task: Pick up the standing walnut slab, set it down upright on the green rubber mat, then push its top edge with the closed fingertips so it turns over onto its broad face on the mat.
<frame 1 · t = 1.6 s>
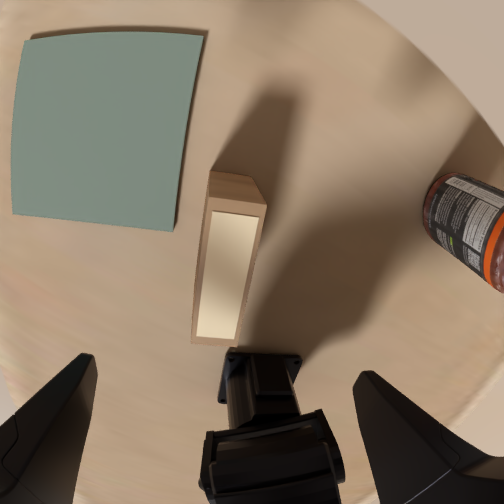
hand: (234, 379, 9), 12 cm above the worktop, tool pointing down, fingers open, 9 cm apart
slab: (220, 234, 20), on the worktop
supplement bottle: (445, 205, 21), on the worktop
mat: (90, 127, 16), on the worktop
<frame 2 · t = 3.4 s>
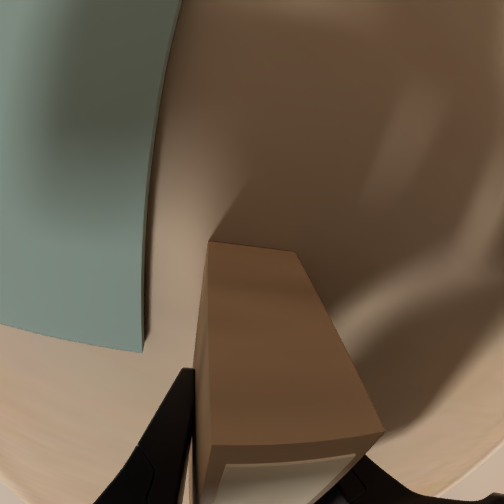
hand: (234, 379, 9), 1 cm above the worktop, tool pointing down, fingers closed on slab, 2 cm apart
slab: (230, 351, 10), on the worktop, touching gripper
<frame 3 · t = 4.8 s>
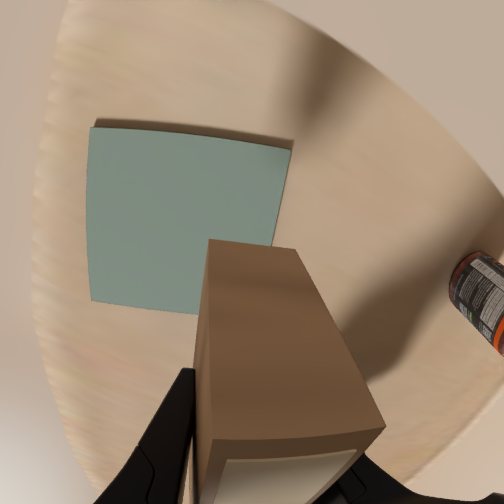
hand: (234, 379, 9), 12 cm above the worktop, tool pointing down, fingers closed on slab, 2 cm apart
slab: (231, 348, 11), point 10 cm above the worktop, touching gripper
supplement bottle: (467, 276, 25), on the worktop
mat: (177, 229, 19), on the worktop
when the fingers open (3 cm above the worktop, at t = 6.6 s): slab stays where it is, resting on mat.
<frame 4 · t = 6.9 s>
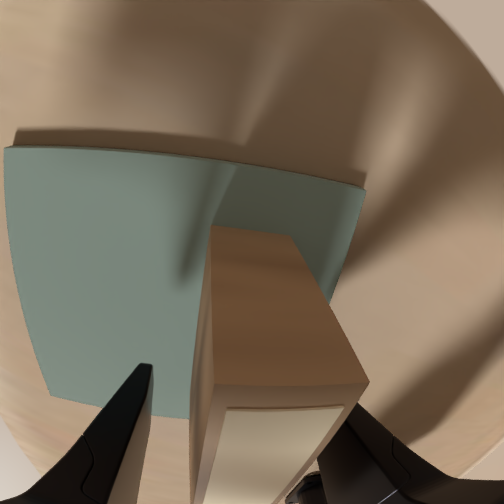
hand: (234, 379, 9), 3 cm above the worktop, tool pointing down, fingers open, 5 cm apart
slab: (230, 331, 11), resting on mat
mat: (162, 317, 11), on the worktop
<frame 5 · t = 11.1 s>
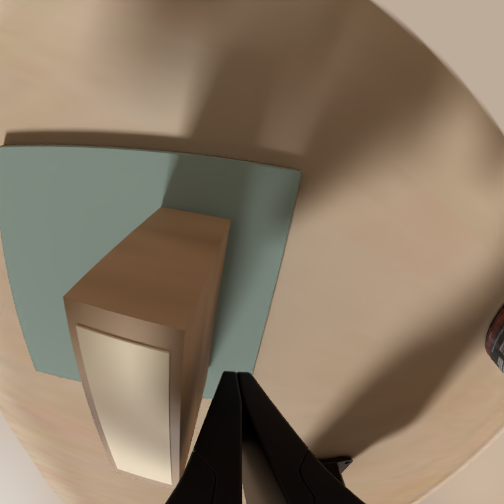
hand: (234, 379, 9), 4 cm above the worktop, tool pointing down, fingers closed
slab: (185, 308, 12), point 1 cm above the worktop, tilted 11°, touching mat
mat: (127, 292, 12), on the worktop
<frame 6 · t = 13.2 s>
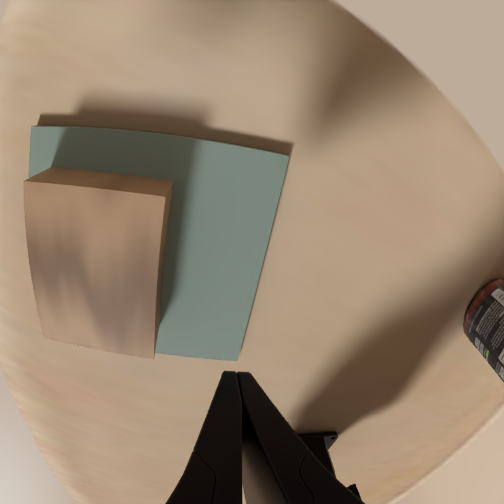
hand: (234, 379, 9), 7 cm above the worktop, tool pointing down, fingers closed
slab: (160, 275, 13), point 2 cm above the worktop, tilted 90°, touching mat
supplement bottle: (483, 304, 21), on the worktop
mat: (139, 255, 15), on the worktop
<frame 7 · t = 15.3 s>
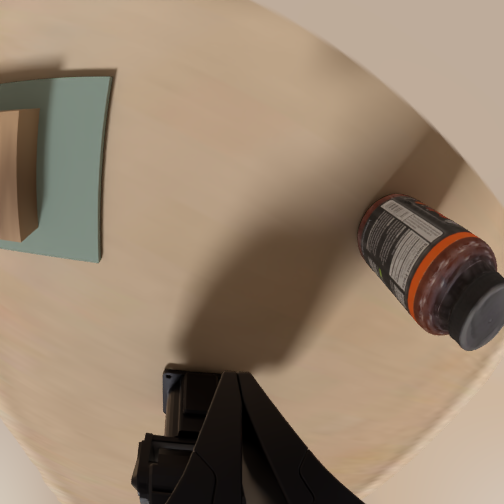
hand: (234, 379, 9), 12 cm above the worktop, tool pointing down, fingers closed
slab: (26, 174, 15), point 2 cm above the worktop, tilted 90°, touching mat
supplement bottle: (388, 228, 22), on the worktop
mat: (25, 169, 16), on the worktop
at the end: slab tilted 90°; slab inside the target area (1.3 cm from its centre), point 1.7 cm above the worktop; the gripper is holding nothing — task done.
